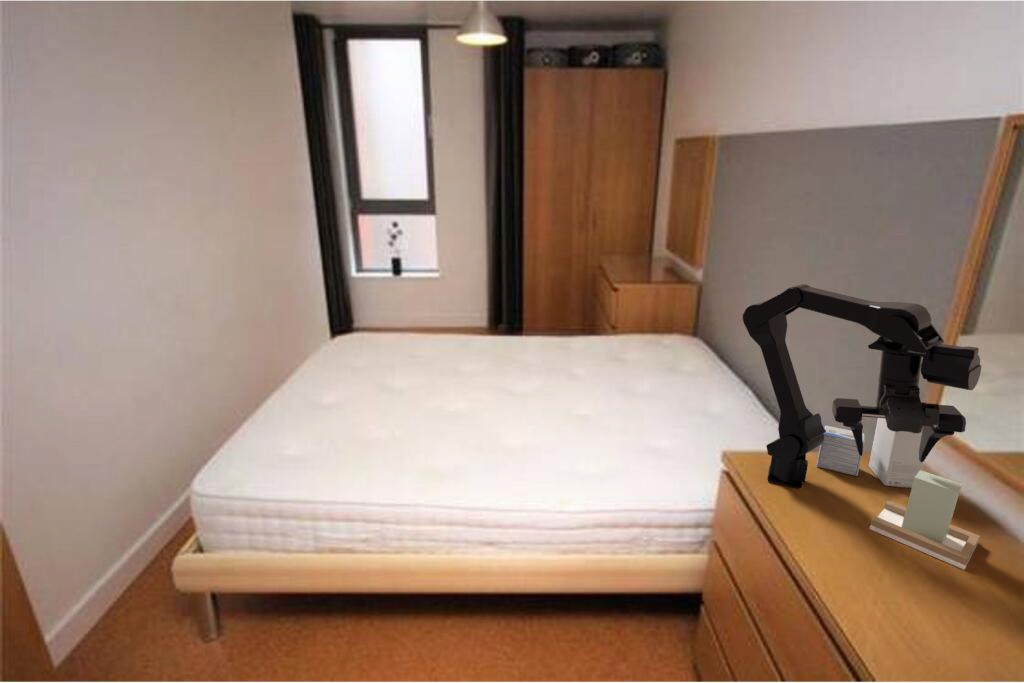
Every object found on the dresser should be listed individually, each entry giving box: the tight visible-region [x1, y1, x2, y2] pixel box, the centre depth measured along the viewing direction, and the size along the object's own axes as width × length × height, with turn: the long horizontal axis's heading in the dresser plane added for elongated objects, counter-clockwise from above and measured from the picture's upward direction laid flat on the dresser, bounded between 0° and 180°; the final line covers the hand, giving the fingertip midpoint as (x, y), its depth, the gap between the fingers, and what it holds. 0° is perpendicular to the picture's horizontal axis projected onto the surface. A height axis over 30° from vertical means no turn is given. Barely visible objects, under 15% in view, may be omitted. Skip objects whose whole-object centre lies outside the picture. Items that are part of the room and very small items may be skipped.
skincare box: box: [868, 418, 924, 489], centre depth 113 cm, size 8×7×16 cm
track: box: [869, 500, 981, 571], centre depth 97 cm, size 14×10×2 cm
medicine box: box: [816, 425, 866, 477], centre depth 118 cm, size 8×4×9 cm, turn 58°
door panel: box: [902, 469, 963, 544], centre depth 95 cm, size 6×4×11 cm, turn 40°
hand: (890, 457), depth 97 cm, fingers open, 9 cm apart
